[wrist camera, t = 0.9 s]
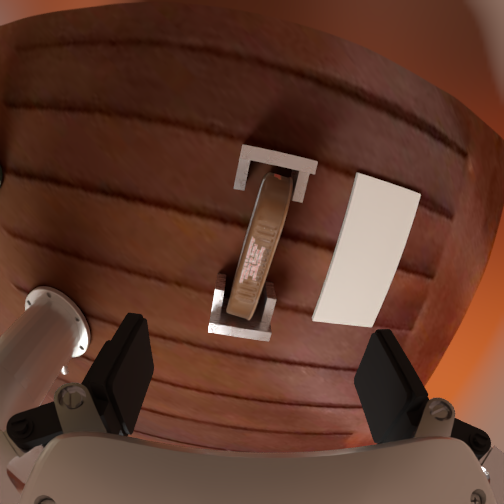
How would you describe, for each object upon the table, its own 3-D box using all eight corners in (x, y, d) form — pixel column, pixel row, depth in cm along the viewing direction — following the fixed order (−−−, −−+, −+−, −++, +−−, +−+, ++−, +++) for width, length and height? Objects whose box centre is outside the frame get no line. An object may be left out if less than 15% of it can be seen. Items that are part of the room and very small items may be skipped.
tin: (250, 295, 35) (252, 338, 27) (225, 289, 35) (220, 331, 27) (288, 174, 30) (304, 185, 22) (260, 165, 30) (266, 173, 22)
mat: (370, 324, 38) (371, 327, 37) (311, 318, 37) (312, 320, 36) (418, 193, 31) (420, 194, 30) (356, 172, 30) (358, 172, 29)
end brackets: (304, 157, 29) (318, 161, 24) (265, 311, 36) (268, 341, 30) (242, 144, 29) (242, 144, 23) (212, 302, 35) (207, 331, 30)
